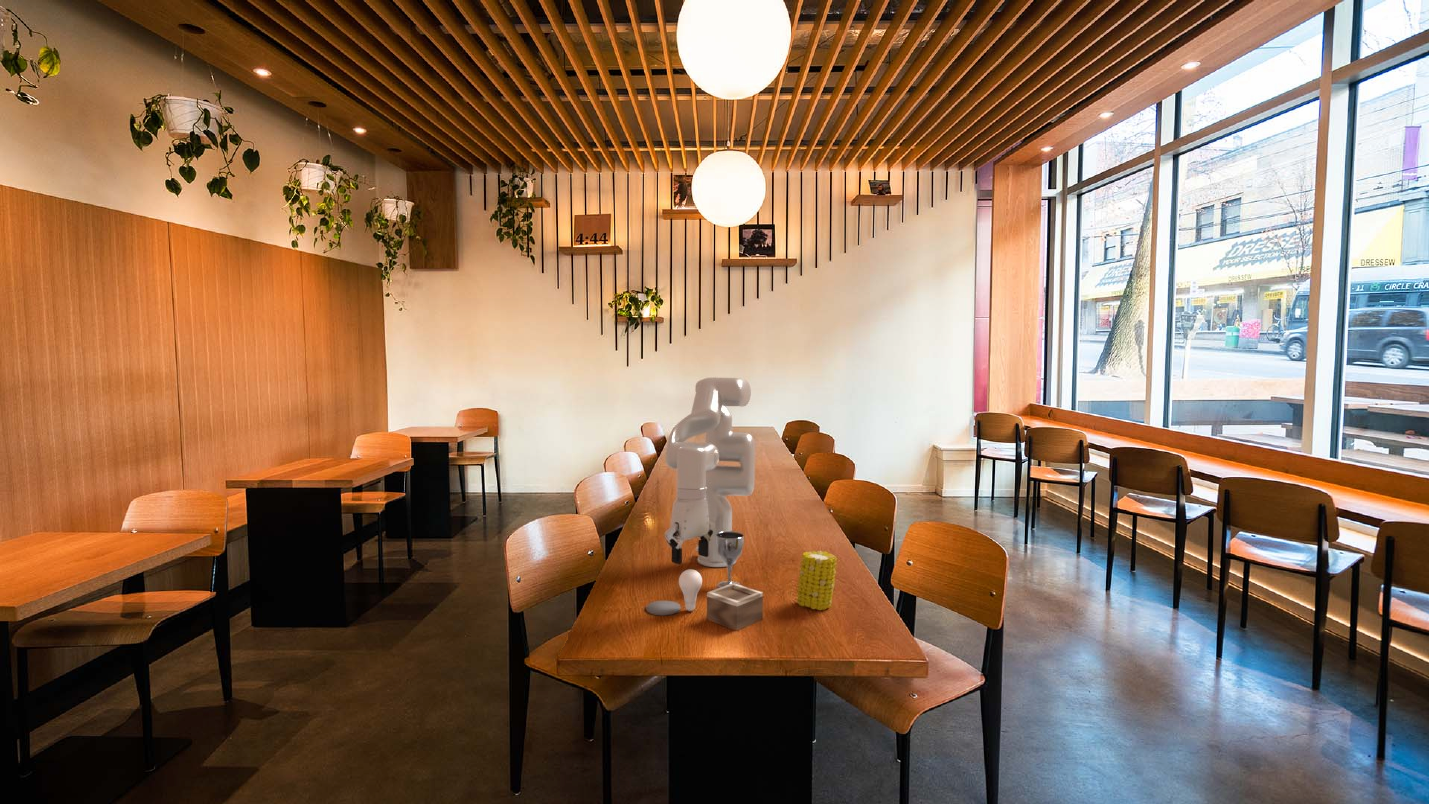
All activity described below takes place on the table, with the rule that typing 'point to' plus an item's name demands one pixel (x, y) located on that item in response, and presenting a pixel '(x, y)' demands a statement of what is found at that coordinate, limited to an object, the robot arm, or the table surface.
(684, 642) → the table surface
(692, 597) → the lightbulb
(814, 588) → the food
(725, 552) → the wine glass
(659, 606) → the grey flat disc
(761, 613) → the square holder
